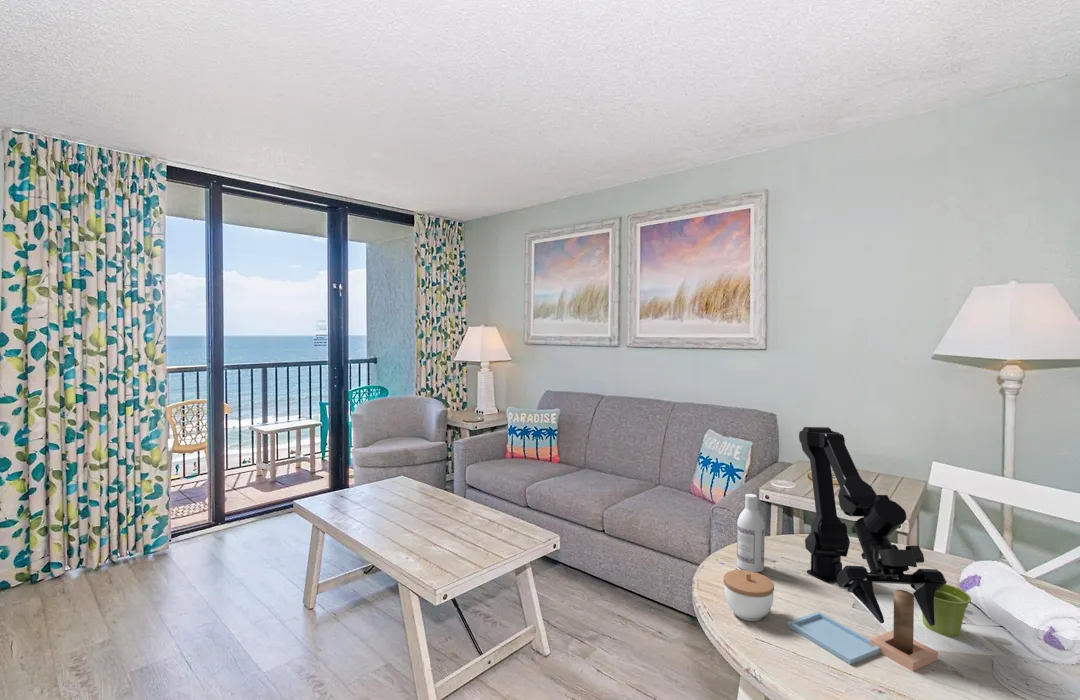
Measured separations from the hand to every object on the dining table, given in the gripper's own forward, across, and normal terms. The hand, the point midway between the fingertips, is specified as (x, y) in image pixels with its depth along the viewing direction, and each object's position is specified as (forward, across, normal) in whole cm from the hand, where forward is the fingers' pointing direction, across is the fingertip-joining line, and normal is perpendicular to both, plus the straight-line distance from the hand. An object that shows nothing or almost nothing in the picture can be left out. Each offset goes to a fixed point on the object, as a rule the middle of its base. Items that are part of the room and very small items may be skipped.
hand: (907, 624), depth 98 cm
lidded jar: (-5, -26, +15) cm, 30 cm away
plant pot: (-3, +14, +13) cm, 19 cm away
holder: (+4, 0, +6) cm, 7 cm away
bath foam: (-22, -18, +32) cm, 43 cm away
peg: (+4, 0, +6) cm, 7 cm away
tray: (+2, -11, +9) cm, 14 cm away
